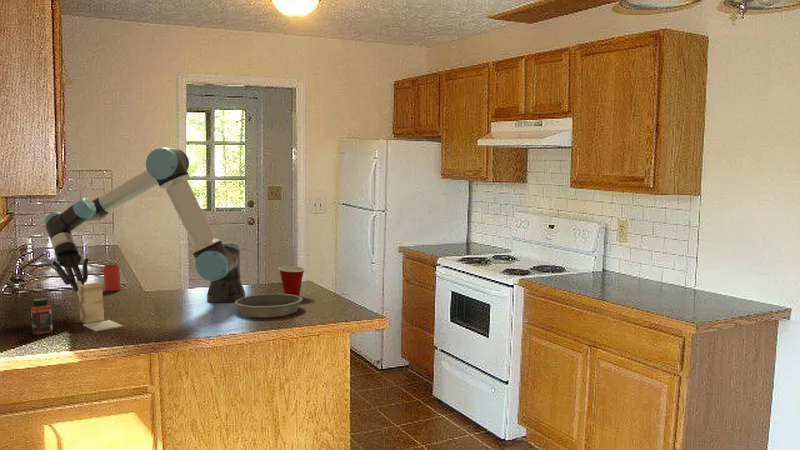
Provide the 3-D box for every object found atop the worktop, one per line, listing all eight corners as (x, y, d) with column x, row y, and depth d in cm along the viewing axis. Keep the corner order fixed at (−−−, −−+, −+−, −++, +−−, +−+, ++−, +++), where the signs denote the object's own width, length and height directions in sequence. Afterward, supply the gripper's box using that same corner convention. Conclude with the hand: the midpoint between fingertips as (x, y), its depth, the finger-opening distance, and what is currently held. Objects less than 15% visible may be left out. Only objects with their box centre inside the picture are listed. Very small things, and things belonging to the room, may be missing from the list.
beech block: (80, 321, 237) (78, 285, 236) (98, 318, 241) (95, 283, 240) (86, 324, 233) (84, 287, 232) (104, 321, 237) (102, 285, 236)
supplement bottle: (57, 331, 224) (55, 297, 222) (42, 335, 218) (40, 301, 217) (43, 330, 225) (41, 296, 224) (28, 334, 220) (25, 300, 219)
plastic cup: (298, 299, 270) (297, 270, 269) (274, 298, 273) (273, 269, 272) (310, 294, 280) (309, 266, 279) (287, 293, 284) (286, 265, 282)
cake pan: (307, 315, 242) (307, 303, 241) (237, 321, 235) (236, 308, 235) (297, 302, 265) (297, 291, 265) (233, 307, 258) (233, 295, 258)
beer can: (101, 291, 295) (99, 264, 294) (112, 288, 301) (111, 262, 300) (112, 292, 292) (111, 264, 291) (124, 289, 299) (122, 262, 297)
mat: (82, 325, 231) (82, 324, 231) (109, 321, 237) (109, 319, 237) (95, 331, 222) (95, 330, 222) (122, 326, 229) (122, 325, 229)
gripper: (81, 252, 260) (99, 300, 249) (44, 255, 251) (61, 306, 240) (85, 239, 255) (103, 288, 245) (47, 242, 246) (65, 293, 236)
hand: (82, 297), depth 242 cm, fingers closed
